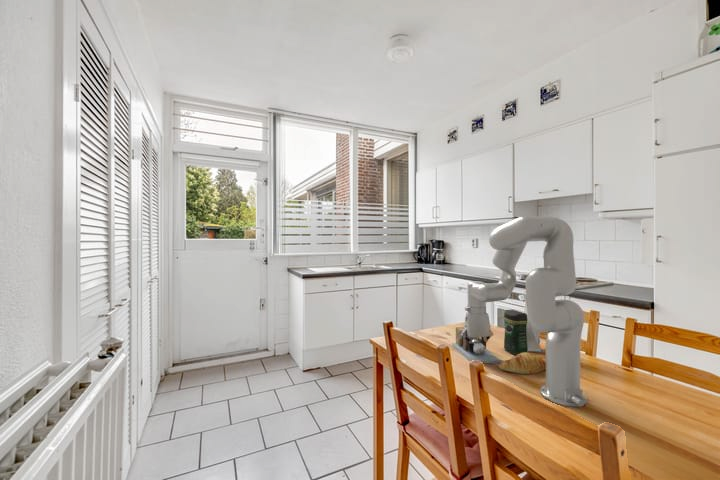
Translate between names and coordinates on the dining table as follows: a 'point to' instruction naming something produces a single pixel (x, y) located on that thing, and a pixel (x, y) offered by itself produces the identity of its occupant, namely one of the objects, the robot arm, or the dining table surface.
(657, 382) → the dining table surface
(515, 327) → the coffee jar
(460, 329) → the socket
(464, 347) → the guide
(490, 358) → the board
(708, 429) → the dining table surface
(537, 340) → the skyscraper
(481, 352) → the tube
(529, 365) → the croissant
